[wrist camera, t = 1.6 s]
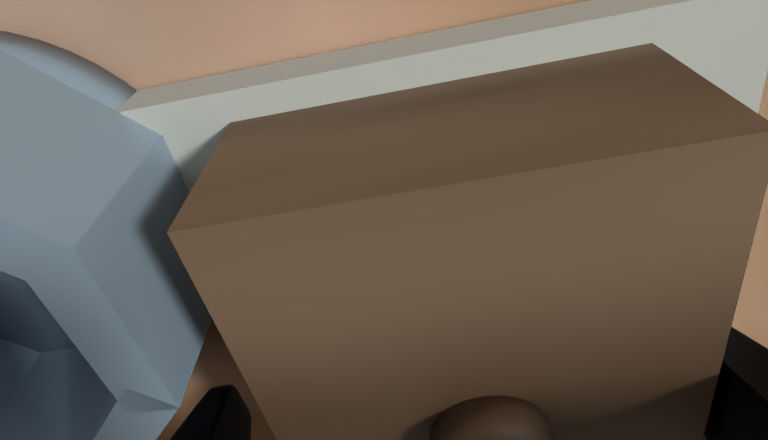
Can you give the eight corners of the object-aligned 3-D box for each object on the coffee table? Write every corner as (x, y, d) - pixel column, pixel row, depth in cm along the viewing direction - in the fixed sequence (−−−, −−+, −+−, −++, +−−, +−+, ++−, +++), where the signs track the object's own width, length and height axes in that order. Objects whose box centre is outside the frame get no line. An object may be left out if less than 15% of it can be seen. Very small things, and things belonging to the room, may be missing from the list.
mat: (671, 384, 14) (690, 417, 13) (299, 429, 15) (294, 463, 14) (745, -31, 8) (786, -19, 7) (137, 90, 9) (113, 113, 8)
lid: (617, 413, 13) (690, 583, 10) (354, 445, 13) (347, 612, 10) (652, 42, 8) (822, 157, 5) (229, 122, 8) (146, 266, 5)
